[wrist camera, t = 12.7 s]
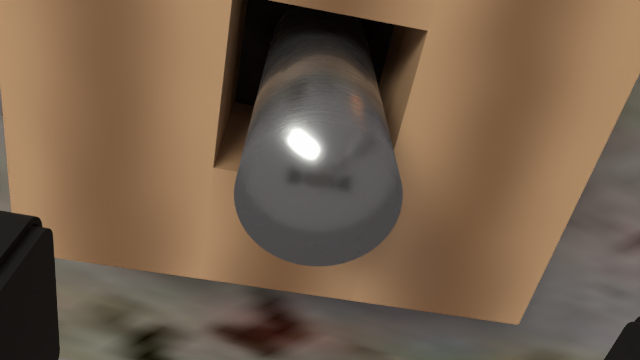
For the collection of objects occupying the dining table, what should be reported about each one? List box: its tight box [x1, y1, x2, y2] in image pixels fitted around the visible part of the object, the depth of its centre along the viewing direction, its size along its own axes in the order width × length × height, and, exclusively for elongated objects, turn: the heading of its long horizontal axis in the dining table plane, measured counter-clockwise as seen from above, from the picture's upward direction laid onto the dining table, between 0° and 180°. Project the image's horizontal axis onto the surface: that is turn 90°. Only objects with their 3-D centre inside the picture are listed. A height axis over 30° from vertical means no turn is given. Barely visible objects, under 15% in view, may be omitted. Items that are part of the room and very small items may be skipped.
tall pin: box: [234, 5, 403, 266], centre depth 19 cm, size 4×4×12 cm
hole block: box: [0, 0, 640, 325], centre depth 22 cm, size 20×16×6 cm
